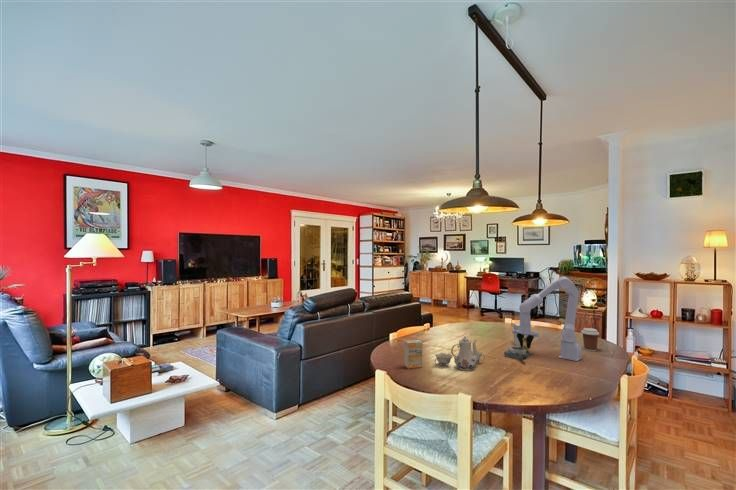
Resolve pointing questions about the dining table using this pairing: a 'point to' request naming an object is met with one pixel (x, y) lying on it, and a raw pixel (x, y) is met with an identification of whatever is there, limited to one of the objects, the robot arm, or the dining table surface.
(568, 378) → the dining table surface
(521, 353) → the collar
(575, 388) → the dining table surface
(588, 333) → the coffee cup
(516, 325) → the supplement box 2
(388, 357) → the dining table surface
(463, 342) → the chinaware
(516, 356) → the block
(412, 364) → the supplement box
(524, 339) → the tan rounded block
